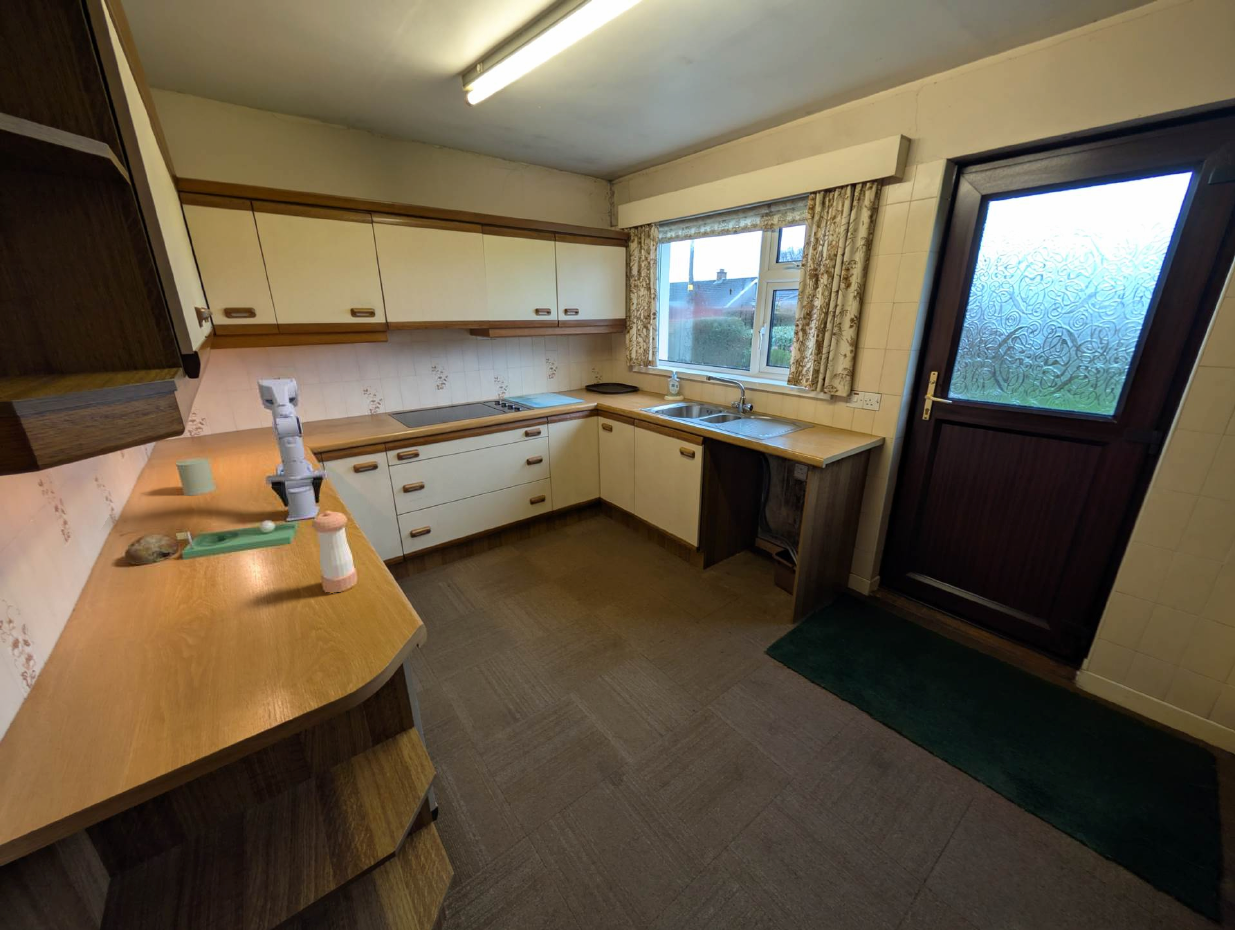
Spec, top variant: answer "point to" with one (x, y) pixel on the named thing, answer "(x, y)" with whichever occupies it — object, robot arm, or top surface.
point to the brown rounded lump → (150, 549)
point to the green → (237, 540)
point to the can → (196, 476)
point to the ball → (267, 526)
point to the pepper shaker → (334, 552)
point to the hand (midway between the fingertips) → (302, 503)
